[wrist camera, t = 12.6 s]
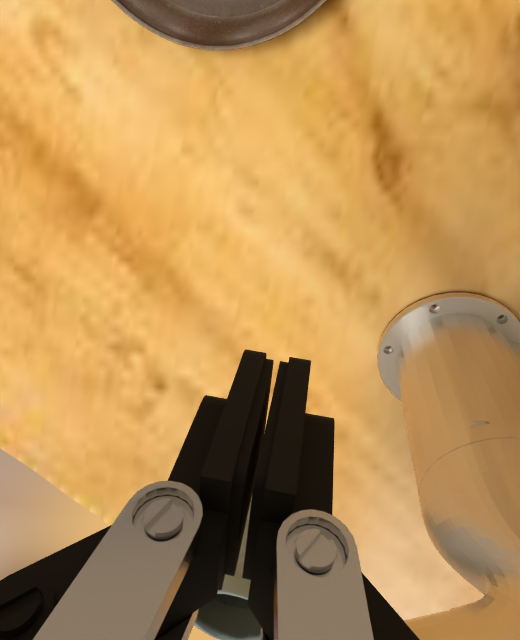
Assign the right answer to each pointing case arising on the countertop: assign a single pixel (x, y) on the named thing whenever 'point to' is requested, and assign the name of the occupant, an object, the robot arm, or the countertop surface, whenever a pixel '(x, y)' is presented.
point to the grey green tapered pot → (231, 606)
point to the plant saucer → (218, 20)
